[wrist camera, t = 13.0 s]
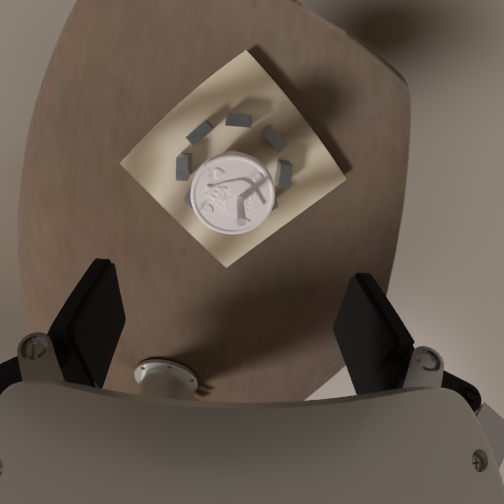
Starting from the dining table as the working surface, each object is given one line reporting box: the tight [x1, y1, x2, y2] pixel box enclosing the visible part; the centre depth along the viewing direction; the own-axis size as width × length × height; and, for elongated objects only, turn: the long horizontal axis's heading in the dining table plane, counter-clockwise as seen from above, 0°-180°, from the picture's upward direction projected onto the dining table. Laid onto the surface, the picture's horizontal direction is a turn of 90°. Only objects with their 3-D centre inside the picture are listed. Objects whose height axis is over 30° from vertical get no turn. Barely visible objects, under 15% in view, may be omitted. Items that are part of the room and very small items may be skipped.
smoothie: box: [190, 150, 275, 234], centre depth 23 cm, size 6×6×14 cm
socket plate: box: [120, 50, 346, 268], centre depth 29 cm, size 18×18×2 cm
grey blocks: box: [176, 113, 293, 212], centre depth 27 cm, size 11×11×2 cm
